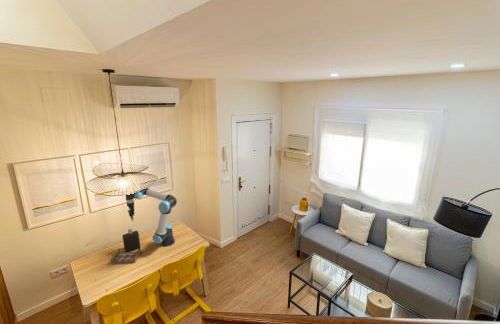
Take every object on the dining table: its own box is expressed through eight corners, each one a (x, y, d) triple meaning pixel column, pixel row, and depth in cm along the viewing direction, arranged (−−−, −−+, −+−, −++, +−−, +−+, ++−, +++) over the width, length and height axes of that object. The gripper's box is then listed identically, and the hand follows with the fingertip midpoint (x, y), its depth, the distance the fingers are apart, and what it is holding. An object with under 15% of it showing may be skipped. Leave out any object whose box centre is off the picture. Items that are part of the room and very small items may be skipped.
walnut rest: (141, 252, 272) (140, 248, 271) (135, 262, 255) (134, 258, 254) (119, 253, 271) (118, 249, 269) (111, 264, 253) (110, 259, 252)
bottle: (140, 248, 280) (138, 228, 274) (125, 253, 271) (122, 233, 264) (139, 244, 286) (136, 226, 280) (124, 250, 277) (121, 230, 270)
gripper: (129, 199, 280) (131, 218, 286) (124, 204, 268) (127, 223, 274) (135, 199, 281) (138, 218, 287) (131, 204, 268) (133, 223, 274)
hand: (132, 220), depth 280 cm, fingers closed
